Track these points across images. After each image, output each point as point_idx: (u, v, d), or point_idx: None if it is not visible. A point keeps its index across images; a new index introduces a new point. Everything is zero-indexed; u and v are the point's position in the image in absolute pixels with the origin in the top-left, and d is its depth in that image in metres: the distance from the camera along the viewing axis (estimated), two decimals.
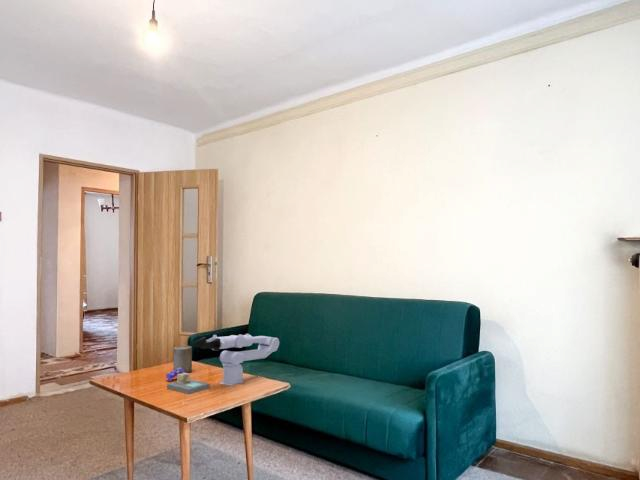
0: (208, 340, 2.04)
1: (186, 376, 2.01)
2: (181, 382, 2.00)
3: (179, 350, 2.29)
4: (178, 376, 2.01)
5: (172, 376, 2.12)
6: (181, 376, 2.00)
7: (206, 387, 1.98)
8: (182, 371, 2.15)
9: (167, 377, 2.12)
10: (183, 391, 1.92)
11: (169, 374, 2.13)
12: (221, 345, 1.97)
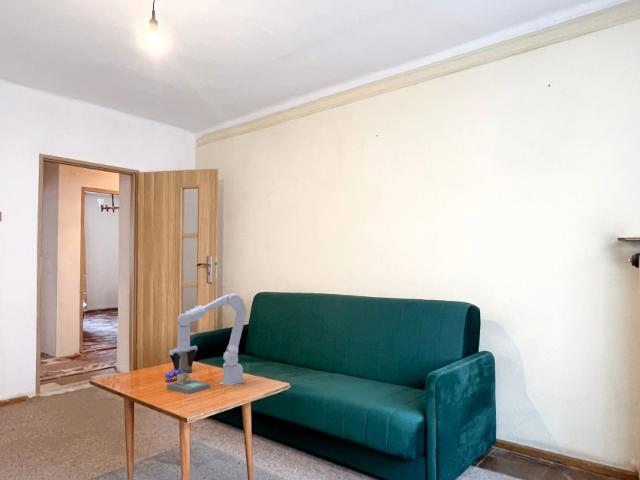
0: None
1: (186, 376, 2.01)
2: (181, 382, 2.00)
3: None
4: (178, 376, 2.01)
5: (171, 376, 2.12)
6: (181, 376, 2.00)
7: (206, 387, 1.98)
8: (181, 371, 2.15)
9: (166, 377, 2.12)
10: (183, 391, 1.92)
11: (168, 374, 2.13)
12: (171, 354, 1.98)
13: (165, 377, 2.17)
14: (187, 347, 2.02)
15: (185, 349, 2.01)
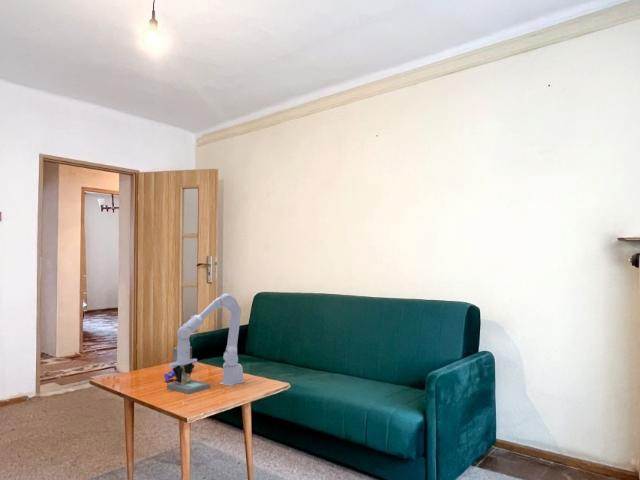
0: None
1: (186, 376, 2.01)
2: (181, 382, 2.00)
3: None
4: None
5: (170, 376, 2.11)
6: None
7: (206, 387, 1.98)
8: None
9: (165, 377, 2.11)
10: (183, 391, 1.92)
11: (167, 374, 2.12)
12: None
13: None
14: (187, 360, 2.01)
15: (185, 362, 2.00)
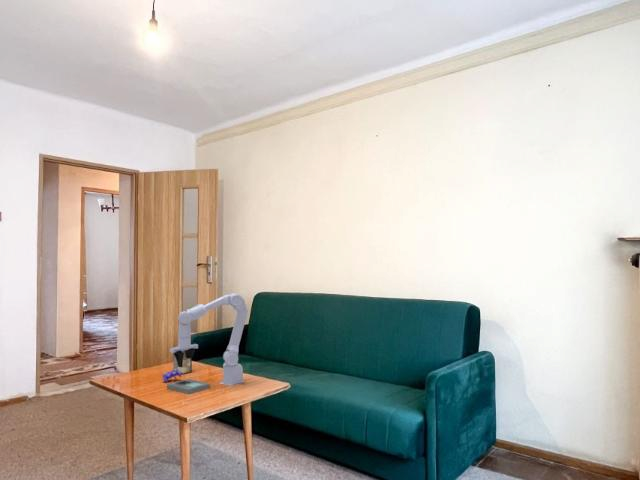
0: None
1: (187, 361, 2.02)
2: (182, 367, 2.00)
3: None
4: None
5: (168, 377, 2.11)
6: (182, 361, 2.00)
7: (206, 387, 1.98)
8: (178, 372, 2.13)
9: (163, 378, 2.11)
10: (183, 391, 1.92)
11: (165, 375, 2.12)
12: (172, 352, 1.97)
13: None
14: (188, 345, 2.02)
15: (186, 347, 2.01)
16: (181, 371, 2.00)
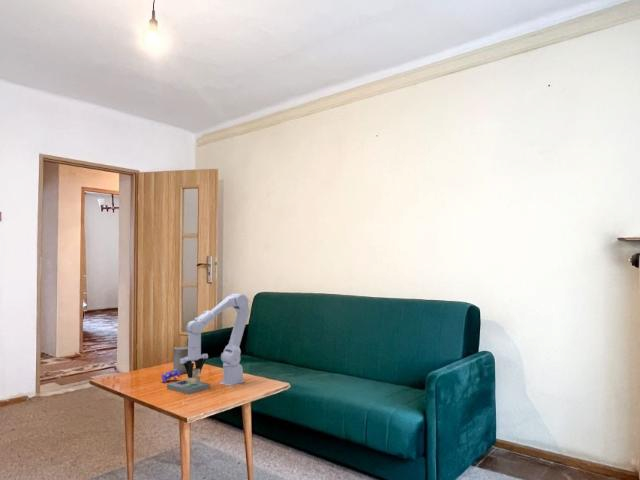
0: None
1: (197, 371, 1.97)
2: (192, 377, 1.96)
3: (179, 350, 2.29)
4: None
5: (167, 377, 2.10)
6: None
7: (206, 387, 1.98)
8: (177, 372, 2.13)
9: (162, 378, 2.10)
10: (183, 391, 1.92)
11: (164, 375, 2.11)
12: (182, 363, 1.93)
13: None
14: (198, 355, 1.97)
15: (196, 357, 1.96)
16: (191, 382, 1.96)
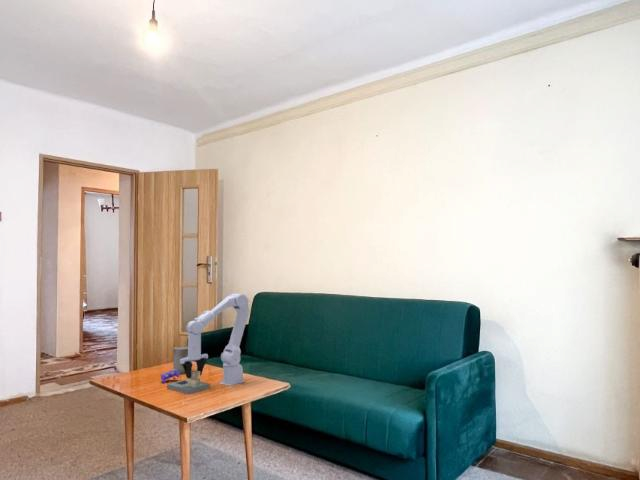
0: None
1: (197, 374, 1.97)
2: (192, 380, 1.95)
3: (179, 350, 2.29)
4: None
5: (166, 377, 2.10)
6: (192, 373, 1.96)
7: (206, 387, 1.98)
8: (176, 373, 2.12)
9: (161, 378, 2.10)
10: (183, 391, 1.92)
11: (163, 375, 2.11)
12: None
13: None
14: (198, 355, 1.97)
15: (196, 357, 1.96)
16: (191, 384, 1.96)
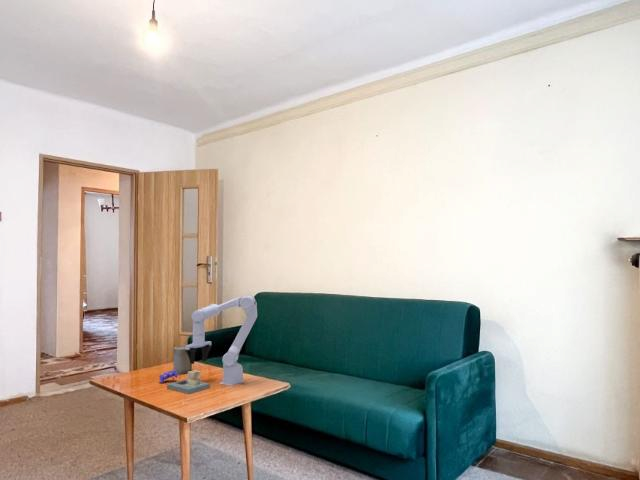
0: None
1: (197, 374, 1.97)
2: (192, 380, 1.95)
3: (179, 350, 2.29)
4: (189, 374, 1.97)
5: (164, 378, 2.09)
6: (192, 373, 1.96)
7: (206, 387, 1.98)
8: (175, 373, 2.12)
9: None
10: (183, 391, 1.92)
11: (162, 375, 2.10)
12: None
13: None
14: (202, 342, 2.09)
15: (200, 344, 2.08)
16: (191, 384, 1.96)
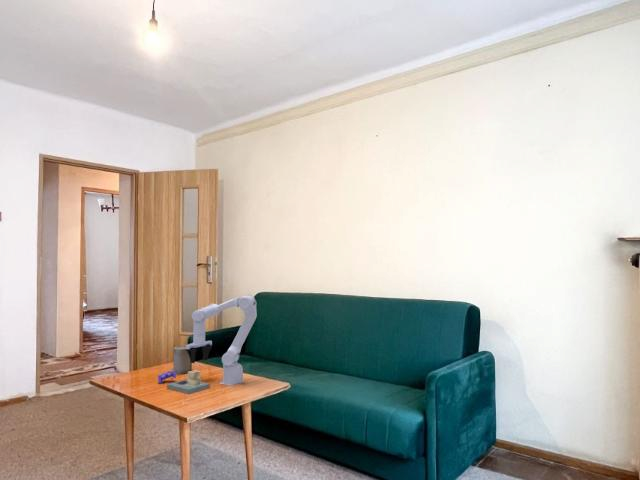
0: None
1: (197, 374, 1.97)
2: (192, 380, 1.95)
3: (179, 350, 2.29)
4: (189, 374, 1.97)
5: (162, 378, 2.09)
6: (192, 373, 1.96)
7: (206, 387, 1.98)
8: (173, 373, 2.11)
9: (158, 378, 2.09)
10: (183, 391, 1.92)
11: (160, 376, 2.10)
12: (188, 348, 2.06)
13: None
14: (203, 342, 2.11)
15: (201, 344, 2.10)
16: (191, 384, 1.96)
